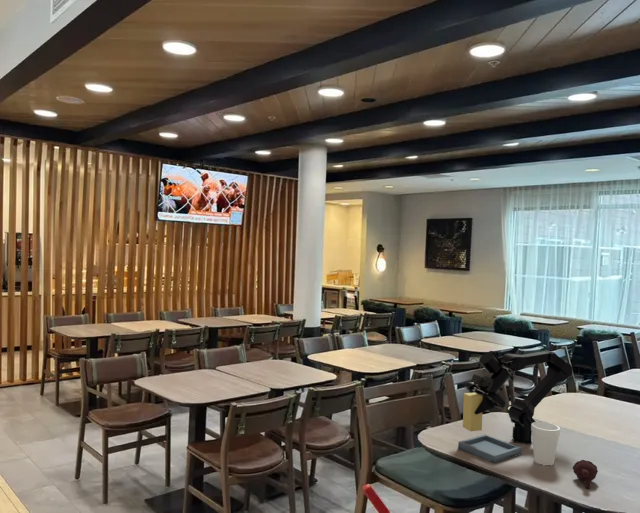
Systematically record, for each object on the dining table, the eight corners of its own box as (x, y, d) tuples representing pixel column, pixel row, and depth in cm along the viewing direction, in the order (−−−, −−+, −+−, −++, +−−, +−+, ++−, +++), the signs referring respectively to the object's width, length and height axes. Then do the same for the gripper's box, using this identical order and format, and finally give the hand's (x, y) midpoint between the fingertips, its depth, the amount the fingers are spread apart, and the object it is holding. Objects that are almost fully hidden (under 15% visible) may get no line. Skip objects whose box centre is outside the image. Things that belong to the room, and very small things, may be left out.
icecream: (570, 451, 185) (571, 471, 171) (593, 449, 182) (596, 470, 168) (574, 470, 185) (576, 492, 171) (598, 469, 182) (601, 491, 168)
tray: (485, 440, 210) (485, 434, 210) (521, 454, 197) (521, 447, 197) (458, 448, 201) (458, 441, 201) (494, 463, 188) (494, 456, 188)
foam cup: (561, 469, 185) (562, 431, 185) (532, 466, 187) (534, 429, 187) (554, 458, 194) (556, 423, 194) (527, 455, 196) (529, 420, 196)
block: (473, 425, 207) (474, 392, 206) (481, 430, 202) (483, 396, 202) (462, 427, 205) (463, 393, 205) (470, 431, 200) (471, 397, 200)
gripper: (469, 361, 213) (444, 391, 210) (500, 372, 195) (473, 405, 192) (485, 380, 216) (461, 409, 212) (517, 392, 198) (491, 424, 195)
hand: (470, 411), depth 203 cm, fingers closed on block, 5 cm apart
